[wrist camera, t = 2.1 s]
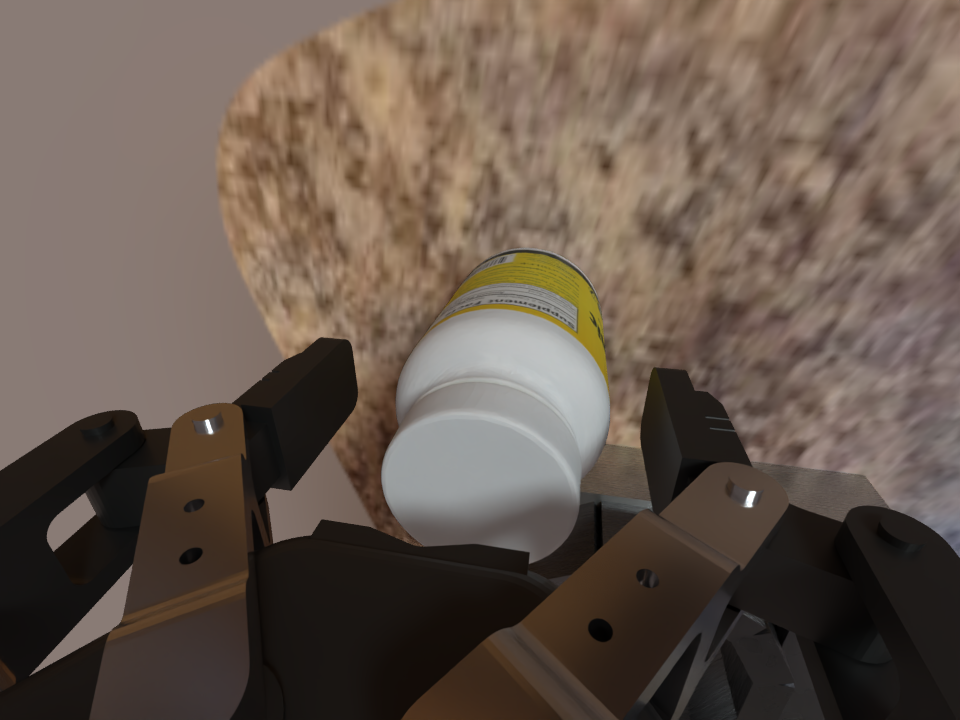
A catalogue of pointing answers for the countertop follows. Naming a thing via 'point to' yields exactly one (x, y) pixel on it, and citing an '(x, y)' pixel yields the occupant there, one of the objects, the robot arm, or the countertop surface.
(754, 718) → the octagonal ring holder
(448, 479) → the supplement bottle
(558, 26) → the countertop surface
